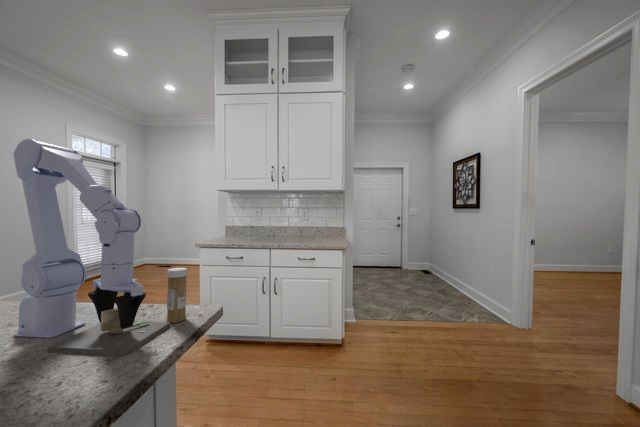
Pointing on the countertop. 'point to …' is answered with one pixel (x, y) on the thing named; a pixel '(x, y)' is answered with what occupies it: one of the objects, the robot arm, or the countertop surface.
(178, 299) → the sprinkles bottle
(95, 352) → the dial board
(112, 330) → the peg
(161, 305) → the countertop surface
